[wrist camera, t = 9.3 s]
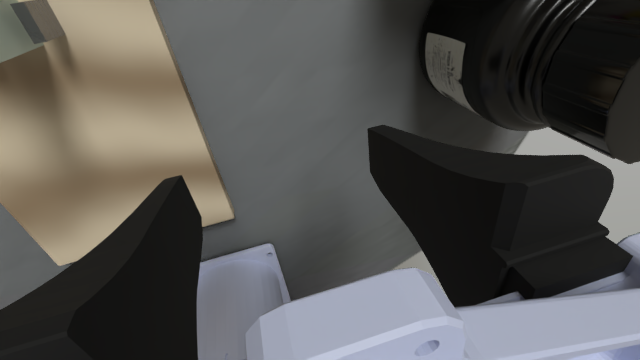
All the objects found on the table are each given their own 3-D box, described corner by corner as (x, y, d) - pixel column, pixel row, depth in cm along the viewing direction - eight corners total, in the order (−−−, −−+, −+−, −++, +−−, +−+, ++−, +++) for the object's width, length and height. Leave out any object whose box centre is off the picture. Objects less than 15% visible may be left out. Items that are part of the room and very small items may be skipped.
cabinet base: (233, 209, 24) (234, 218, 23) (64, 255, 22) (58, 265, 22) (55, -254, 11) (42, -271, 11) (-357, -223, 10) (-409, -241, 9)
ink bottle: (386, 66, 21) (528, 147, 11) (468, -88, 18) (776, -162, 8) (482, 115, 25) (646, 205, 15) (564, -1, 22) (844, 21, 12)
